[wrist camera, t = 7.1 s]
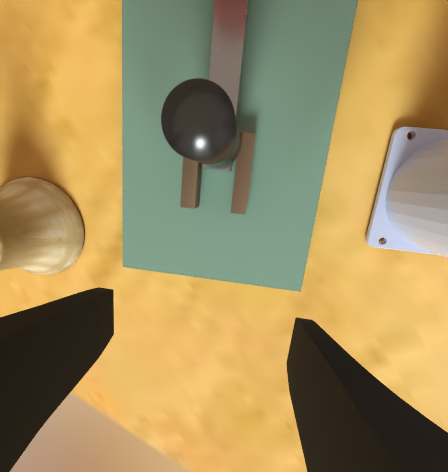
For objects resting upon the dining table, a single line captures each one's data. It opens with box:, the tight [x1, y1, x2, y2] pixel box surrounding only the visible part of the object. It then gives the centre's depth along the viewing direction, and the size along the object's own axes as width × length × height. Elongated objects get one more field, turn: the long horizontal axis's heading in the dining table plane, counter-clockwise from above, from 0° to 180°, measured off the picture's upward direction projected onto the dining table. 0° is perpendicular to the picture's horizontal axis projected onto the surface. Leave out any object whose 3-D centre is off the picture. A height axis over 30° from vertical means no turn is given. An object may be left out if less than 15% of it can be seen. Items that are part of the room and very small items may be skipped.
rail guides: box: [180, 132, 256, 215], centre depth 16 cm, size 4×5×1 cm
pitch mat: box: [122, 0, 358, 292], centre depth 16 cm, size 14×23×1 cm, turn 175°
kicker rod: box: [161, 0, 250, 171], centre depth 11 cm, size 4×11×7 cm, turn 175°
